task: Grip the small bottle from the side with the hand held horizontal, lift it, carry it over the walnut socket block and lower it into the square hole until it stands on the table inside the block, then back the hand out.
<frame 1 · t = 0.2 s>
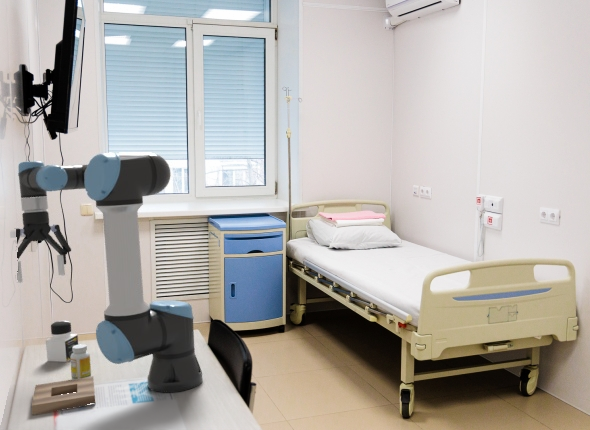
hand: (41, 278, 187), 27 cm above the table, tool pointing down, fingers open, 13 cm apart
socket block: (65, 399, 159), on the table
supplement bottle: (81, 378, 174), on the table
medicine bottle: (63, 358, 193), on the table
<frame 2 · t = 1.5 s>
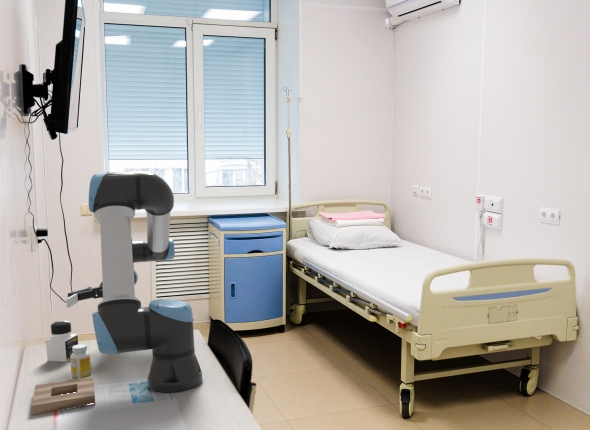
hand: (89, 302, 181), 20 cm above the table, tool horizontal, fingers open, 13 cm apart
nothing on the table moved.
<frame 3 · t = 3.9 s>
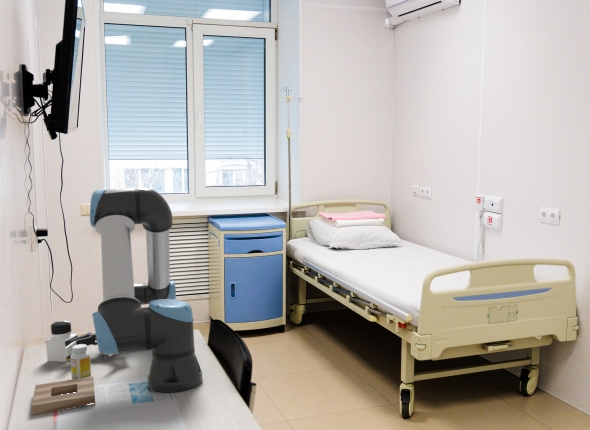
hand: (87, 352, 179), 6 cm above the table, tool horizontal, fingers open, 13 cm apart
nothing on the table moved.
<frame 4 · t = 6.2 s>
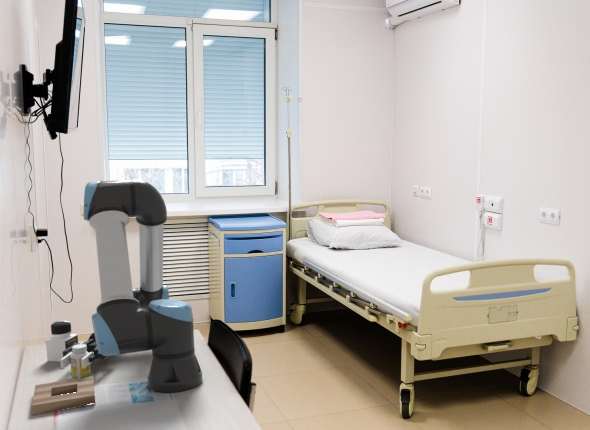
hand: (72, 364, 168), 6 cm above the table, tool horizontal, fingers closed on supplement bottle, 5 cm apart
supplement bottle: (81, 378, 174), on the table, touching gripper
everything else where it was.
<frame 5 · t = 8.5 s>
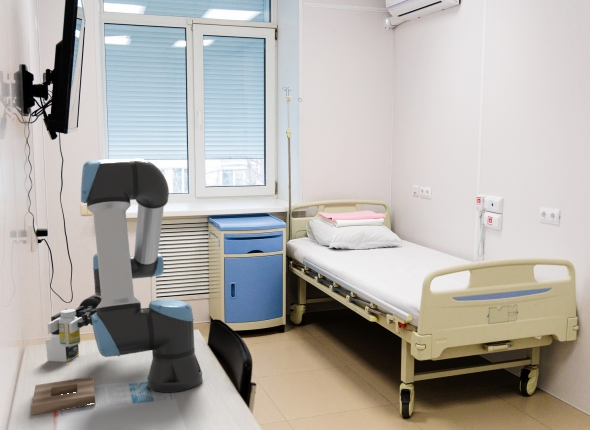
hand: (60, 328, 162), 18 cm above the table, tool horizontal, fingers closed on supplement bottle, 5 cm apart
supplement bottle: (70, 344, 167), point 12 cm above the table, touching gripper
everything else where it was.
when the fingers open (7 cm above the table, at t = 10.8 s): supplement bottle drops 1 cm, resting in socket block.
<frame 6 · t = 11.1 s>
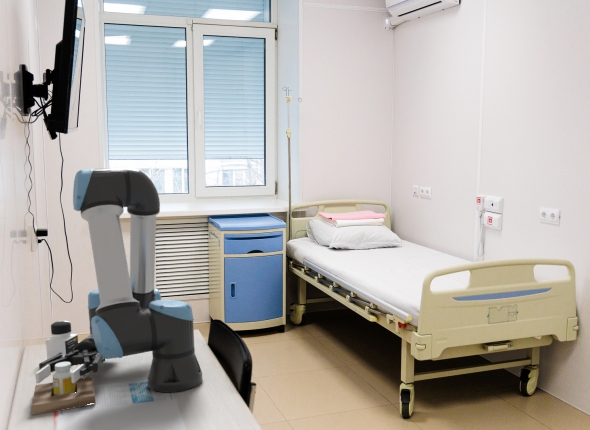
hand: (54, 378, 153), 8 cm above the table, tool horizontal, fingers open, 9 cm apart
supplement bottle: (65, 399, 159), resting in socket block
everything else where it was.
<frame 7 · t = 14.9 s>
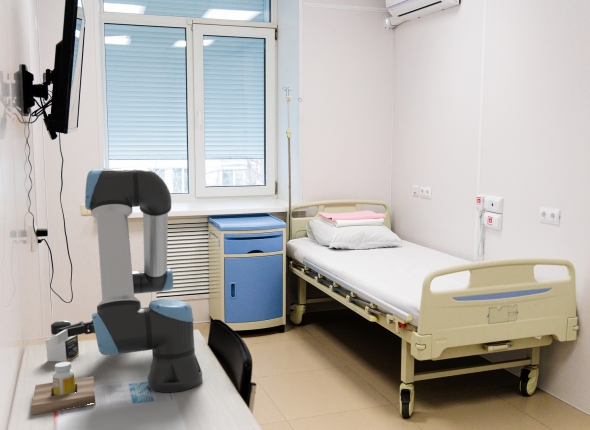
hand: (79, 339, 168), 13 cm above the table, tool horizontal, fingers open, 13 cm apart
nothing on the table moved.
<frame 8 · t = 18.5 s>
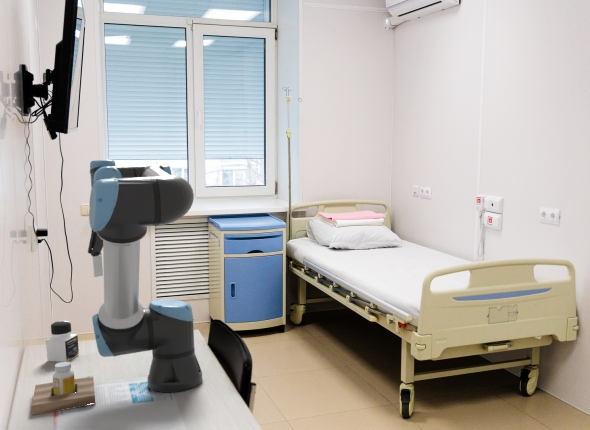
hand: (110, 278, 185), 27 cm above the table, tool pointing down, fingers open, 13 cm apart
nothing on the table moved.
at the end: supplement bottle 0.1 cm off-centre on the socket block, point 0.0 cm above the socket block's base; supplement bottle tilted 0°; the gripper is holding nothing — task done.
